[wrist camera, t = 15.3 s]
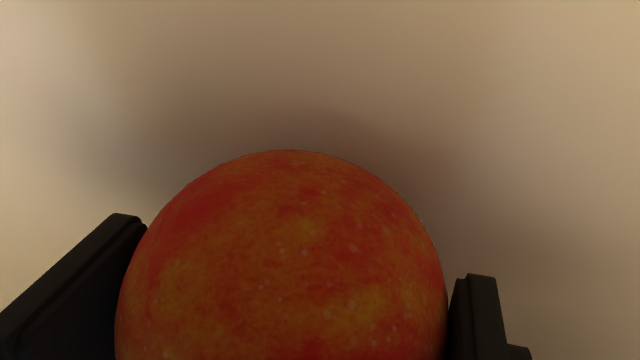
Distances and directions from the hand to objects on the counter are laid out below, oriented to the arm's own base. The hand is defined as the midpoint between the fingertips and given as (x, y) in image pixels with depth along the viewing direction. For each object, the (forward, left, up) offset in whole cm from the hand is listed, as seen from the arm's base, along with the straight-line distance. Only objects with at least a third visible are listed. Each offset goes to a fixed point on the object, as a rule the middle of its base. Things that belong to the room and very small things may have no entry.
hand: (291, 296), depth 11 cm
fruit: (0, 0, -3) cm, 3 cm away
